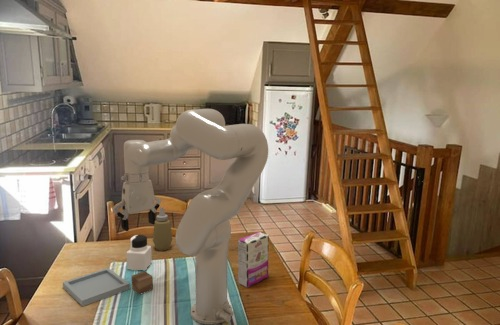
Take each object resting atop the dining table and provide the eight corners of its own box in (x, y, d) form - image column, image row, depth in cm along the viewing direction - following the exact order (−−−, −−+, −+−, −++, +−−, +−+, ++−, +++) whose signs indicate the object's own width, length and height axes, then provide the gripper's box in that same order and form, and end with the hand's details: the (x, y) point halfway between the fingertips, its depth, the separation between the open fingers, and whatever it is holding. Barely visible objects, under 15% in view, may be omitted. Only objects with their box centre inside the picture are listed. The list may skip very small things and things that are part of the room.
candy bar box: (258, 273, 147) (259, 231, 144) (268, 277, 144) (269, 234, 140) (236, 283, 139) (237, 239, 136) (247, 288, 136) (247, 243, 132)
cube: (152, 289, 134) (152, 276, 133) (139, 294, 130) (138, 280, 129) (145, 284, 137) (144, 271, 136) (131, 289, 134) (131, 275, 133)
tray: (129, 288, 134) (129, 283, 133) (82, 306, 123) (81, 300, 122) (108, 272, 145) (108, 267, 144) (63, 287, 134) (62, 282, 133)
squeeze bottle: (176, 247, 169) (175, 206, 166) (163, 253, 162) (162, 211, 159) (162, 242, 173) (161, 203, 170) (149, 249, 166) (147, 208, 163)
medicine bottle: (151, 263, 153) (151, 233, 151) (145, 271, 146) (144, 240, 144) (134, 261, 154) (133, 232, 152) (126, 270, 147) (125, 239, 145)
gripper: (117, 183, 122) (119, 236, 125) (165, 175, 134) (167, 223, 137) (106, 179, 127) (109, 229, 131) (154, 172, 139) (155, 218, 142)
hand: (139, 226), depth 134 cm, fingers open, 9 cm apart
